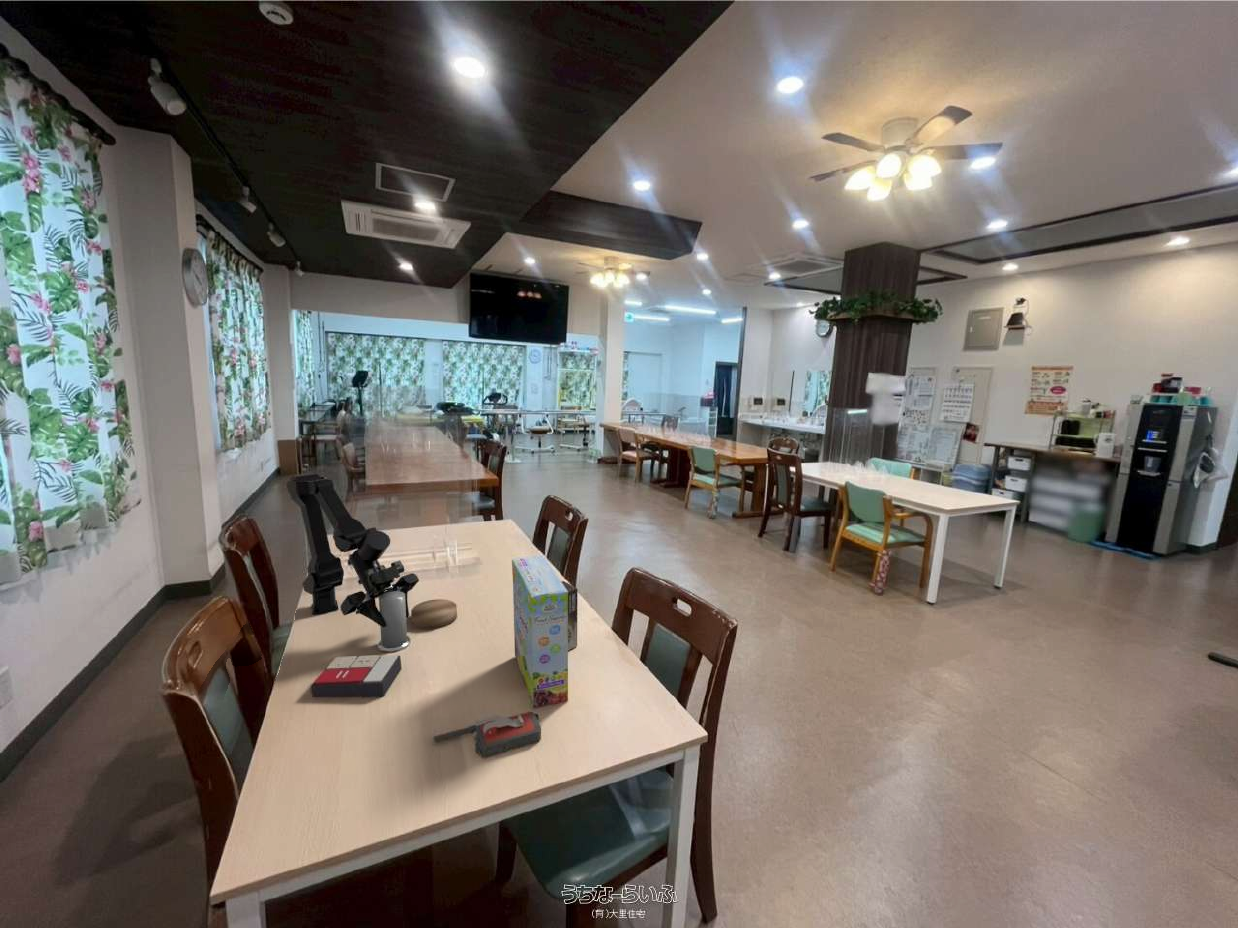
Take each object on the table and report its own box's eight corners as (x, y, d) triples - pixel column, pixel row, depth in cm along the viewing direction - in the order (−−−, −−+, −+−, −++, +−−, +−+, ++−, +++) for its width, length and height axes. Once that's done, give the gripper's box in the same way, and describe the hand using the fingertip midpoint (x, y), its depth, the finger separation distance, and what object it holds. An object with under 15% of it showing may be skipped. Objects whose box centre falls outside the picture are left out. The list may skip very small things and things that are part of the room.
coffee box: (562, 636, 137) (563, 579, 134) (577, 646, 132) (579, 588, 129) (534, 648, 131) (534, 589, 128) (548, 659, 126) (549, 598, 123)
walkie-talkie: (534, 714, 107) (432, 741, 98) (534, 695, 106) (432, 721, 97) (548, 742, 99) (438, 774, 90) (548, 721, 98) (437, 752, 90)
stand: (407, 614, 146) (407, 604, 146) (450, 605, 153) (450, 596, 152) (416, 633, 137) (416, 622, 136) (462, 622, 143) (461, 612, 142)
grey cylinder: (375, 641, 132) (373, 593, 130) (407, 633, 136) (405, 587, 134) (380, 655, 126) (377, 605, 123) (413, 647, 130) (411, 599, 127)
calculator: (334, 654, 119) (400, 652, 120) (337, 671, 120) (402, 668, 121) (309, 683, 109) (381, 679, 109) (311, 701, 109) (383, 698, 110)
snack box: (510, 656, 127) (510, 557, 122) (545, 650, 130) (546, 553, 125) (529, 710, 107) (530, 595, 102) (570, 702, 110) (572, 589, 106)
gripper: (343, 564, 121) (373, 621, 117) (413, 543, 136) (441, 593, 133) (328, 587, 127) (356, 642, 123) (396, 565, 142) (423, 613, 138)
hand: (396, 621), depth 129 cm, fingers closed on grey cylinder, 6 cm apart
